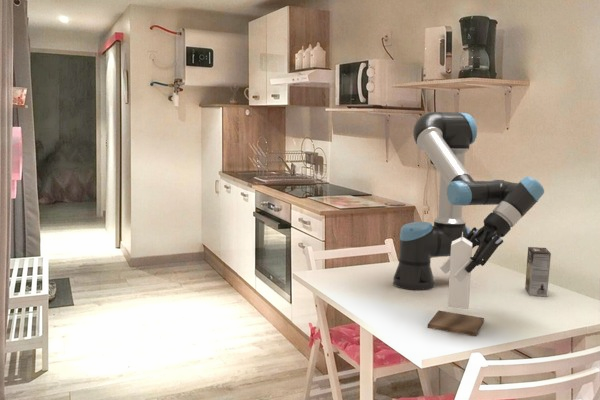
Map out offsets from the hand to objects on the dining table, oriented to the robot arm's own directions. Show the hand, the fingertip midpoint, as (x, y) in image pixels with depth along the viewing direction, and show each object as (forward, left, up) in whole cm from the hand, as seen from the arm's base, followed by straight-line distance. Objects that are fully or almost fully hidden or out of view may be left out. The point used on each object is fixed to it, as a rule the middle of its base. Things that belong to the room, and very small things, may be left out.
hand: (449, 274), depth 165 cm
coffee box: (+21, +51, -16) cm, 58 cm away
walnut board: (+2, +2, -16) cm, 16 cm away
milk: (+3, +2, -10) cm, 10 cm away
